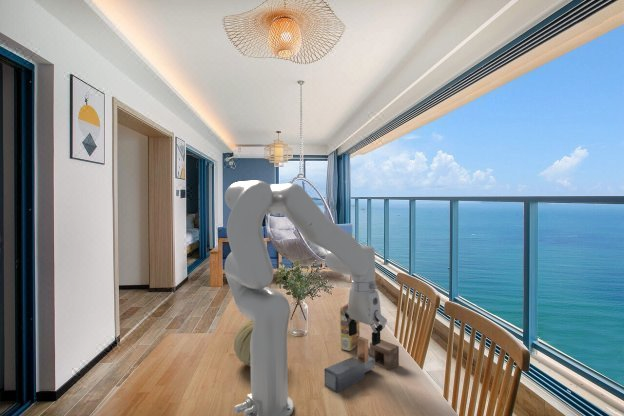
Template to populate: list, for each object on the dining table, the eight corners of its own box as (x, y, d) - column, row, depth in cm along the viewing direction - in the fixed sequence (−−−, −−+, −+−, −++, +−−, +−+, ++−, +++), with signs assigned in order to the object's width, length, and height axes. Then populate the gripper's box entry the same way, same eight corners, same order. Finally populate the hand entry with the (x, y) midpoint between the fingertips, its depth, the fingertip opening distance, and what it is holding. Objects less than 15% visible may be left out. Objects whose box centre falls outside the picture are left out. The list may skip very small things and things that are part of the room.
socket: (389, 369, 116) (389, 350, 115) (369, 361, 122) (369, 342, 122) (398, 365, 119) (398, 346, 119) (379, 356, 125) (379, 339, 125)
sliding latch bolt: (338, 385, 105) (338, 351, 104) (331, 381, 107) (331, 347, 107) (374, 367, 115) (374, 336, 115) (367, 364, 117) (367, 334, 117)
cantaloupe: (231, 358, 124) (230, 315, 124) (273, 352, 130) (272, 310, 129) (238, 379, 110) (237, 330, 110) (284, 370, 116) (284, 324, 115)
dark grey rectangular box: (336, 392, 103) (336, 375, 102) (324, 385, 106) (324, 368, 106) (364, 378, 110) (364, 362, 110) (352, 372, 114) (352, 356, 114)
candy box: (350, 351, 129) (350, 309, 129) (339, 349, 131) (339, 307, 131) (360, 342, 137) (359, 302, 137) (349, 340, 139) (349, 301, 139)
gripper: (393, 288, 109) (394, 344, 109) (351, 278, 122) (352, 328, 123) (377, 293, 104) (378, 352, 105) (335, 282, 117) (336, 334, 118)
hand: (364, 339), depth 114 cm, fingers open, 9 cm apart
